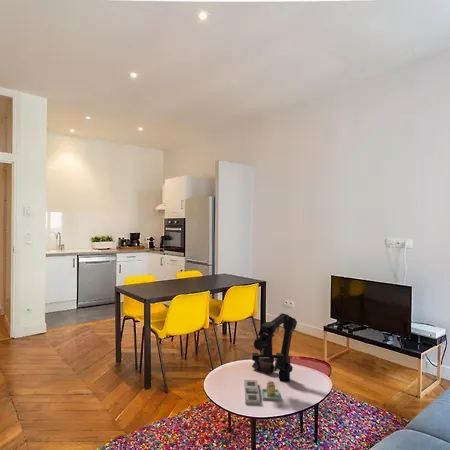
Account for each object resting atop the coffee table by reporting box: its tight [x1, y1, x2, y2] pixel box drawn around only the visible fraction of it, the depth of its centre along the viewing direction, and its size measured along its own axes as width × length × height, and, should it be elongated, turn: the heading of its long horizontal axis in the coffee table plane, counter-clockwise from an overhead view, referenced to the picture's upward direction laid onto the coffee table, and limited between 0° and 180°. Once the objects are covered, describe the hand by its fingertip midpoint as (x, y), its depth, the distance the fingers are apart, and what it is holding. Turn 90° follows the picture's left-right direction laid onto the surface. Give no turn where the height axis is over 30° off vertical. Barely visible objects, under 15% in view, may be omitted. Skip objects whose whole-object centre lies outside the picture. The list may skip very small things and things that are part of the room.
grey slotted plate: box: [243, 379, 261, 405], centre depth 210 cm, size 8×24×3 cm, turn 178°
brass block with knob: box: [266, 380, 276, 397], centre depth 208 cm, size 4×4×7 cm
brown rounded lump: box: [251, 352, 275, 375], centre depth 244 cm, size 10×15×15 cm
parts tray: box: [261, 388, 281, 401], centre depth 208 cm, size 10×10×2 cm
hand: (267, 370), depth 215 cm, fingers open, 9 cm apart
